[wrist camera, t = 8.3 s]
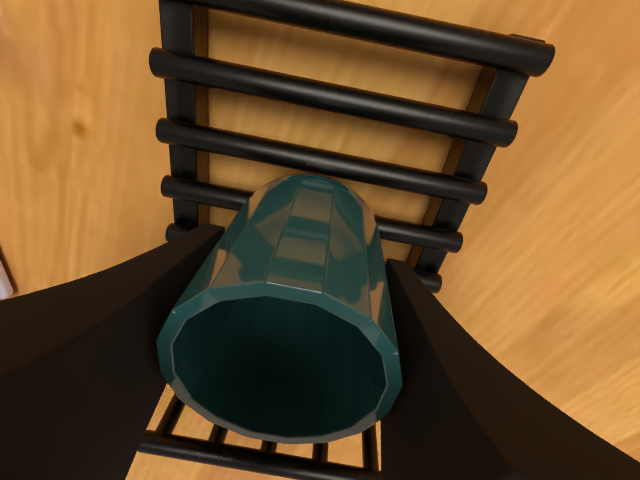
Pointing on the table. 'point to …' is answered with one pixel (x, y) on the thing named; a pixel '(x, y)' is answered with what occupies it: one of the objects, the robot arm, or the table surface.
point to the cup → (288, 319)
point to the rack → (330, 158)
